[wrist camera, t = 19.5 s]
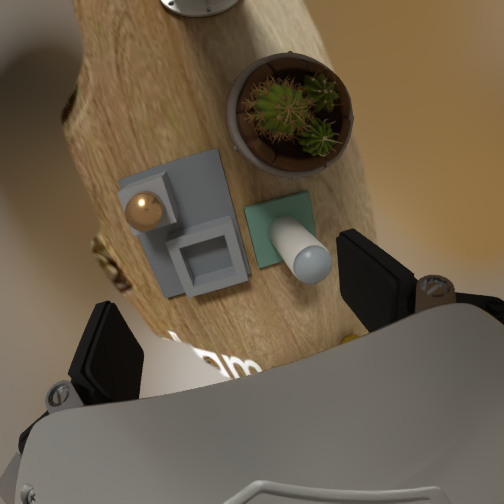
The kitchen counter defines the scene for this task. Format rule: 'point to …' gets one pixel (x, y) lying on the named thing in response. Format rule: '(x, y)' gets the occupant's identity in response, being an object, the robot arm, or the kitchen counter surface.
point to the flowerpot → (289, 115)
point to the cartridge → (300, 250)
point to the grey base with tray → (190, 226)
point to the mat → (267, 212)
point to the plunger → (144, 211)
